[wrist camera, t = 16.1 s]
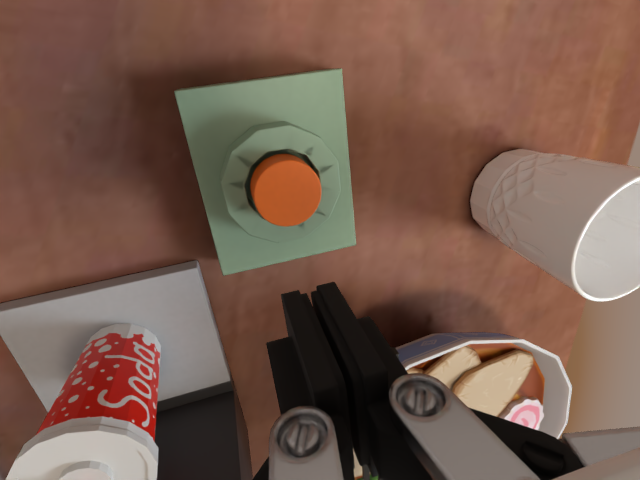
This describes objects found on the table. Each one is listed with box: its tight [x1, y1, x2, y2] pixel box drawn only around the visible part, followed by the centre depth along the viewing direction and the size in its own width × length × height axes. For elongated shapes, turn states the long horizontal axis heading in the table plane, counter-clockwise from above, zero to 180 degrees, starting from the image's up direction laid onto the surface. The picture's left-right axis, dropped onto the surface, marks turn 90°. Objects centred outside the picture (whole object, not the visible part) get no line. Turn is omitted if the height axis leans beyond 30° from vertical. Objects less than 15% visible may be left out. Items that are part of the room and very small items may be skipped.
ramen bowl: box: [353, 332, 572, 480], centre depth 32 cm, size 25×23×8 cm
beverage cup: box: [6, 324, 161, 480], centre depth 19 cm, size 6×6×14 cm
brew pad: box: [174, 68, 356, 276], centre depth 22 cm, size 11×9×4 cm
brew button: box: [250, 154, 322, 227], centre depth 20 cm, size 4×4×2 cm
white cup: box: [470, 149, 640, 302], centre depth 25 cm, size 8×8×10 cm
